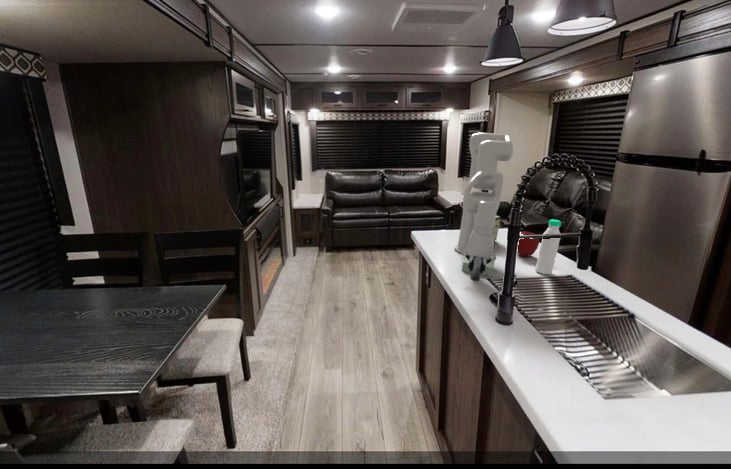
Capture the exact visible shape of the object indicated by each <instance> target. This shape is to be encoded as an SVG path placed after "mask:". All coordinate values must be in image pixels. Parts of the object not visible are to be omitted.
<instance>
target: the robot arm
mask: <svg viewBox="0 0 731 469" xmlns="http://www.w3.org/2000/svg"><path fill="white" fill-rule="evenodd" d="M469 152H470V156H471V157H470V158H471V163H470V168H469V169H470V170H469V176H468V182H467V183H466V185H465V188H464V191H463V197H462V216H461V223H460V230H459V235H458V236H459V237H458V243H457V245H455V246H454V251H455V252H457V253H459V254H462V255H463V256H464V257H465V256H466V258H467V259H468V260H469V266H468V268H470V270H469V271H471V270H472V264H473V256H478V257H481V258H483V261H484V262H483V264H482V268H481V275H482V273H483V271H484V272H485V267H486V265H487V264H488V263H490V262H491V261H495V262H496V260H497V255H496V254H495V251H494V247H495V242H494V234H493V233H497V230H495V229H494V224H495V218H496V215H497V212H498V209H499V208H500V203H501V199H502V198H501V197H502V192H503V191H502V190H503V185H504V176H503V174H502V172H501V171H499V170H498V162H509V161H511V160H512V157H513V156H514V145H513V142H512V139H511V137H510V136H509V135H508V134H505V133H491V132H475V133H473V134H471V136H470V138H469ZM472 189H477V190H486V191H490V192H484V191H472ZM470 255H471V256H470Z"/></svg>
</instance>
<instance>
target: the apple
mask: <svg viewBox="0 0 731 469" xmlns="http://www.w3.org/2000/svg"><path fill="white" fill-rule="evenodd" d="M520 232H521V234H523V235H537V234H536V233H534V232H530V231H525V230H524V231H520ZM539 244H540V238H539V239H530V238H524V239H520V240H519V245H518V253H517V254H518V255H519V256H521V257H524V256H525V257H526V258H527V257H528V256H529V257H530V256H533V255H534V254H535V252H536V251H537V250H538V247H539Z"/></svg>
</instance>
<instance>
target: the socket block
mask: <svg viewBox="0 0 731 469" xmlns="http://www.w3.org/2000/svg"><path fill="white" fill-rule="evenodd" d="M470 256H471V255H470ZM473 258H474V256H473ZM483 262H484V261H483ZM495 262H496V260H495V261H491V262H490V263H488V264H487V265H486V267H485V272H484V271H483V273H482V274H481V275H483V276H486V275H489V276H488V277H491V276H492V277H493V272H494V267H495ZM468 266H469V260H468V259H467V258H466V256H464V259H463V261H462V267H461V271H463V272H468V273H471V271H469V270H470V268H468Z"/></svg>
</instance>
